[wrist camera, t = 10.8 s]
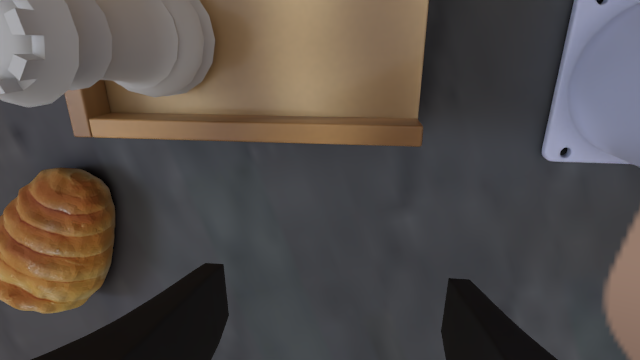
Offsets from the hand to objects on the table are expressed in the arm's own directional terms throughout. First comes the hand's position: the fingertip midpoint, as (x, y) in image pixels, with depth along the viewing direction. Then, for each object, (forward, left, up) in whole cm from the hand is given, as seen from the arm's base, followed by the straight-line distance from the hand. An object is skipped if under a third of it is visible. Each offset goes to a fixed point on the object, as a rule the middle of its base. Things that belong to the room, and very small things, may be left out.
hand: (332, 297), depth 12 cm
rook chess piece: (+7, -8, -6) cm, 12 cm away
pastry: (+18, +4, -10) cm, 21 cm away
